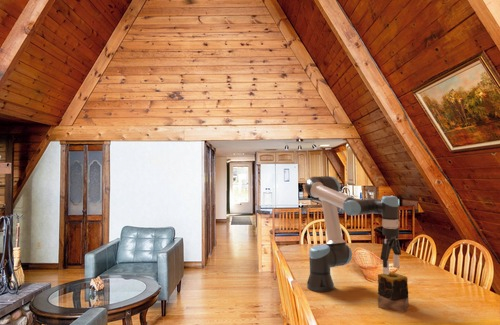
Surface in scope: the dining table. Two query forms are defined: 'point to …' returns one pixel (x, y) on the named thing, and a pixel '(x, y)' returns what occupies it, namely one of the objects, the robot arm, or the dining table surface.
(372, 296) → the dining table surface
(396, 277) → the candle
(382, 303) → the walnut plinth
